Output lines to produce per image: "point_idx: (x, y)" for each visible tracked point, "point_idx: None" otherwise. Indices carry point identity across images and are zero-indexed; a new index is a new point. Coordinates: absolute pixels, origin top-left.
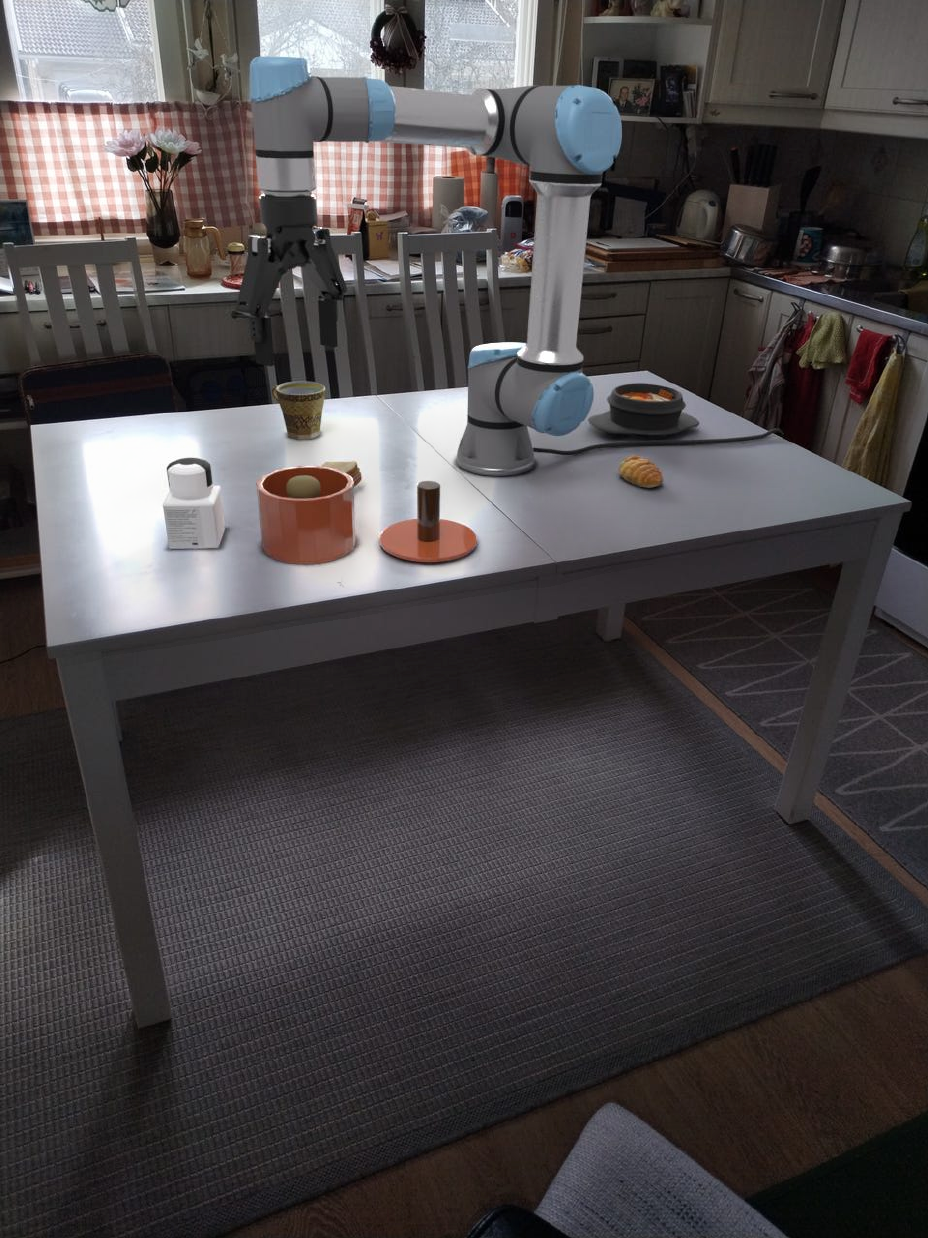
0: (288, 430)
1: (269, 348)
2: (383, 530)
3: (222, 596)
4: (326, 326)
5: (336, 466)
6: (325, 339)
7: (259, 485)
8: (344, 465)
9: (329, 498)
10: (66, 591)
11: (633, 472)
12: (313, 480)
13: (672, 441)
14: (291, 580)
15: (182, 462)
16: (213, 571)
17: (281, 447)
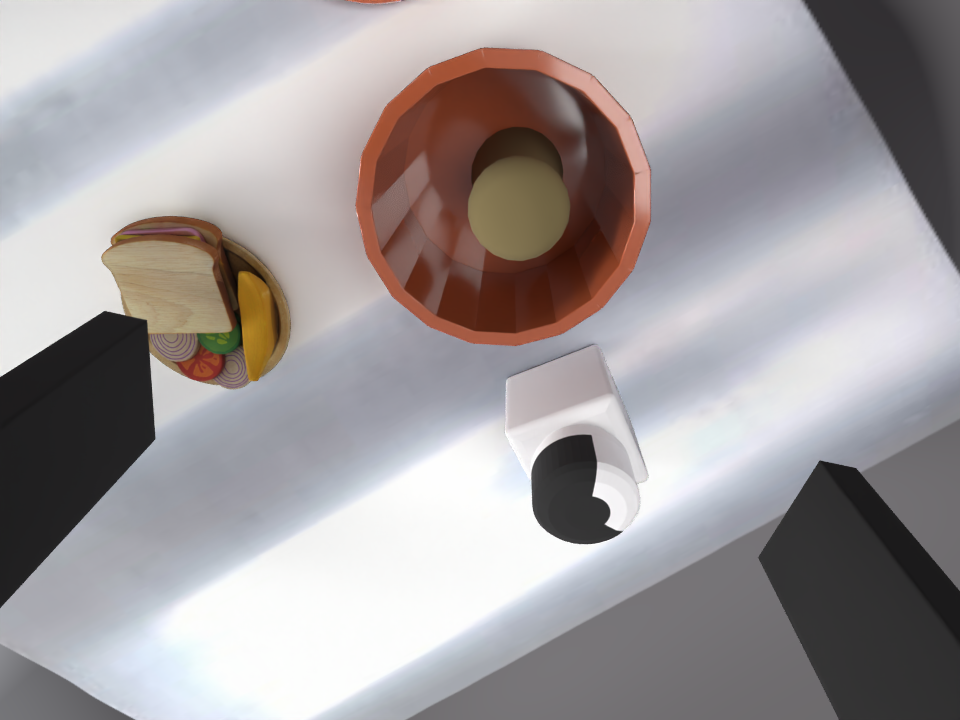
0: None
1: (931, 564)
2: (381, 2)
3: (806, 221)
4: (45, 479)
5: (156, 291)
6: (125, 422)
7: (573, 320)
8: (141, 273)
9: (592, 75)
10: None
11: None
12: (514, 181)
13: None
14: (699, 116)
15: (594, 521)
16: (697, 298)
17: None
